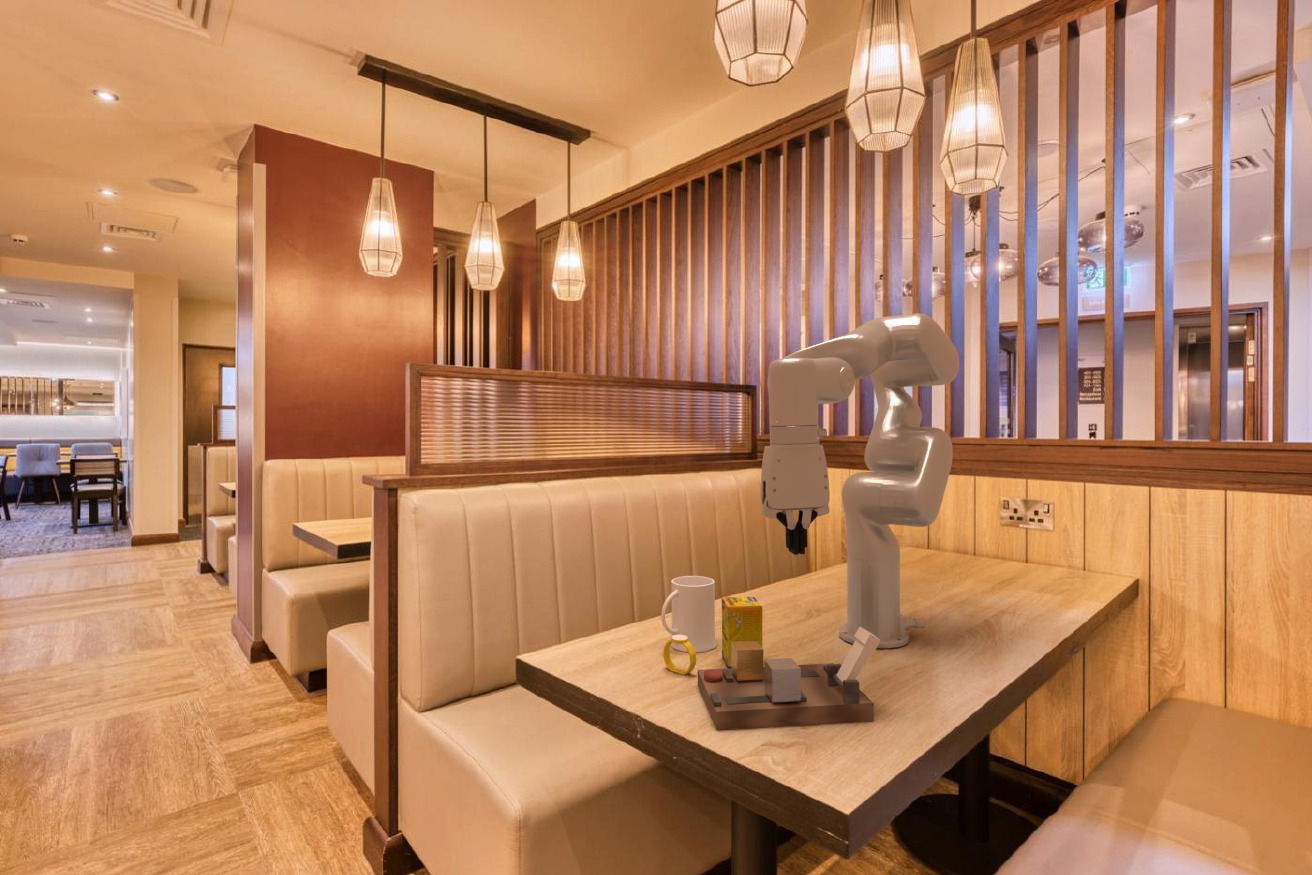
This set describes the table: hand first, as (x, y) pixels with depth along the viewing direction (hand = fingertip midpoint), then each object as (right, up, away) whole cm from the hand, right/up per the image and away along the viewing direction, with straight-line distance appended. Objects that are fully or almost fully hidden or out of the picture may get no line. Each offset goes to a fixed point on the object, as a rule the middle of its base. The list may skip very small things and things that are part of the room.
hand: (796, 552), depth 104 cm
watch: (-18, -21, +5) cm, 28 cm away
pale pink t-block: (+4, -17, -10) cm, 20 cm away
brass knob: (-8, -18, -4) cm, 20 cm away
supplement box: (-8, -21, +8) cm, 23 cm away
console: (-4, -21, -7) cm, 22 cm away
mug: (-17, -21, +17) cm, 32 cm away
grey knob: (-5, -18, -12) cm, 22 cm away
